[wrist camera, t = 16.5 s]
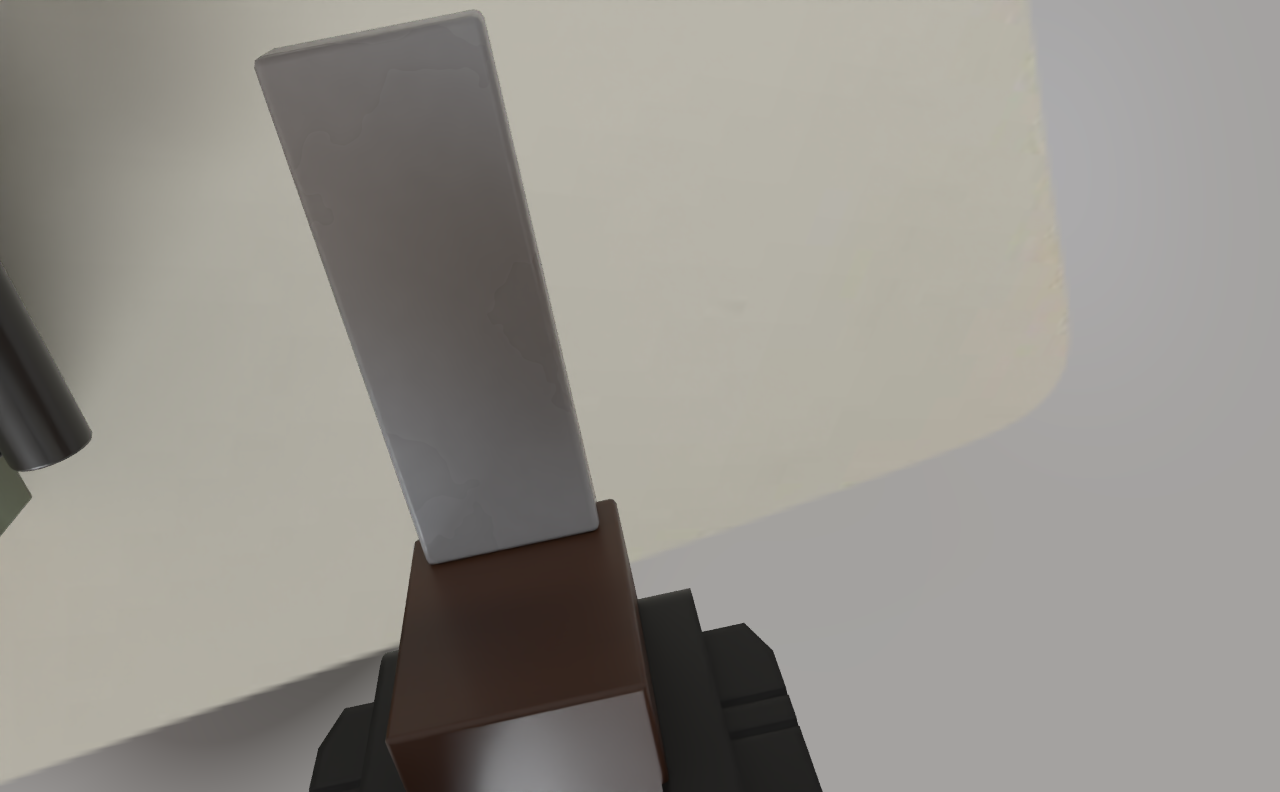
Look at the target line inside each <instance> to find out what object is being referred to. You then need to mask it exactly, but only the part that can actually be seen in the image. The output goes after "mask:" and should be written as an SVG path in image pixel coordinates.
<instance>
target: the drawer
mask: <svg viewBox="0 0 1280 792" xmlns="http://www.w3.org/2000/svg"><path fill="white" fill-rule="evenodd" d="M91 438H92V431H91V429H90V427H89V426H88V424H87V422H86V420H85V418H84V416H83V414H82V412H81V411H80V409H79V407H78V405H77V403H76V401H75V399H74V397H73V396H72V394H71V392H70V390H69V388H68V386H67V384H66V382H65V381H64V379H63V377H62V375H61V373H60V371H59V369H58V367H57V366H56V364H55V362H54V360H53V358H52V356H51V354H50V352H49V351H48V349H47V347H46V345H45V343H44V341H43V339H42V337H41V336H40V334H39V332H38V330H37V328H36V326H35V324H34V322H33V321H32V319H31V317H30V315H29V313H28V311H27V309H26V308H25V306H24V304H23V302H22V300H21V298H20V296H19V294H18V293H17V291H16V289H15V287H14V285H13V283H12V281H11V279H10V278H9V276H8V274H7V272H6V270H5V268H4V266H3V264H2V263H1V261H0V536H1V535H2V534H3V533H4V531H5V530H6V529H7V528H8V526H9V525H10V524H11V523H12V522H13V520H14V519H15V518H16V517H17V515H18V514H19V513H20V512H21V511H22V509H23V508H24V507H25V506H26V504H27V503H28V502H29V501H30V500H31V498H32V495H31V493H30V492H29V490H28V488H27V487H26V485H25V483H24V482H23V480H22V478H21V476H20V475H19V473H18V471H21V472H24V471H32V470H37V469H41V468H45V467H48V466H51V465H53V464H56V463H58V462H61V461H63V460H65V459H67V458H69V457H70V456H72V455H74V454H75V453H77V452H78V451H80V450H81V449H83V448H84V447H85V446H86V445H87V444H88V443H89V442H90V440H91Z"/></svg>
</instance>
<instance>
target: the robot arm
mask: <svg viewBox="0 0 1280 792" xmlns="http://www.w3.org/2000/svg"><path fill="white" fill-rule="evenodd" d="M637 602H638V608H639V614H640V619H641V625H642V630H643V636H644V641H645V647H646V652H647V658H648V663H649V669H650V674H651V680H652V685H653V691H654V696H655V702H656V707H657V712H658V718H659V723H660V729H661V734H662V740H663V745H664V751H665V756H666V762H667V767H668V773H669V779H668V781H667V782H666V783H664V784H662V789H663V792H822V789H821V786H820V783H819V781H818V778H817V775H816V772H815V769H814V766H813V763H812V761H811V758H810V755H809V752H808V749H807V746H806V744H805V741H804V738H803V735H802V732H801V729H800V726H798V723H797V718H796V715H795V712H794V709H793V707H792V704H791V701H790V698H789V695H787V691H786V686H785V684H784V681H783V678H782V675H781V672H780V670H779V667H778V664H777V661H776V658H775V655H774V652H773V650H772V649H770V647H769V646H768V645H766V644H765V643H764V642H763V641H762V640H761V639H760V638H759V637H758V636H757V635H756V634H755V633H754V632H753V631H752V630H751V629H750V628H749V627H748V626H747V625H746V624H745V623H742V624H737V625H732V626H728V627H723V628H719V629H714V630H709V631H704V632H702V630H701V627H700V623H699V619H698V615H697V611H696V608H695V604H694V600H693V596H692V593H691V590H690V588H689V589H684V590H680V591H675V592H670V593H665V594H661V595H656V596H652V597H647V598H642V599H637ZM398 653H399V650H397V651H393V652H388V653H385V654H384V656H383V658H382V660H381V665H380V670H379V676H378V682H377V688H376V694H375V700H374V702H373V703H368V704H363V705H359V706H354V707H350V708H345V709H344V711H343V712H342V713H341V715H340V717H339V718H338V720H337V721H336V723H335V724H334V726H333V727H332V729H331V730H330V732H329V733H328V735H327V736H326V738H325V739H324V741H323V742H322V744H321V746H320V747H319V748H318V753H317V757H316V762H315V766H314V770H313V775H312V779H311V783H310V788H309V792H406V790H405V788H404V785H403V783H402V781H401V778H400V776H399V774H398V771H397V769H396V766H395V764H394V762H393V759H392V757H391V755H390V752H389V750H388V748H387V745H386V743H385V739H386V733H387V726H388V719H389V713H390V706H391V699H392V693H393V686H394V679H395V673H396V666H397V659H398Z"/></svg>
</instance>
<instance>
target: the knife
mask: <svg viewBox="0 0 1280 792" xmlns="http://www.w3.org/2000/svg"><path fill="white" fill-rule="evenodd" d="M254 68H255V71H256V74H257V77H258V80H259V83H260V86H261V88H262V91H263V94H264V97H265V100H266V103H267V106H268V108H269V111H270V114H271V117H272V120H273V123H274V126H275V128H276V131H277V134H278V137H279V140H280V143H281V146H282V148H283V151H284V154H285V157H286V160H287V163H288V166H289V169H290V171H291V174H292V177H293V180H294V183H295V186H296V189H297V191H298V194H299V197H300V200H301V203H302V206H303V209H304V211H305V214H306V217H307V220H308V223H309V226H310V229H311V231H312V234H313V237H314V240H315V243H316V246H317V249H318V251H319V254H320V257H321V260H322V263H323V266H324V269H325V271H326V274H327V277H328V280H329V283H330V286H331V289H332V291H333V294H334V297H335V300H336V303H337V306H338V309H339V312H340V314H341V317H342V320H343V323H344V326H345V329H346V332H347V334H348V337H349V340H350V343H351V346H352V349H353V352H354V354H355V357H356V360H357V363H358V366H359V369H360V372H361V374H362V377H363V380H364V383H365V386H366V389H367V392H368V394H369V397H370V400H371V403H372V406H373V409H374V412H375V414H376V417H377V420H378V423H379V426H380V429H381V432H382V434H383V437H384V440H385V443H386V446H387V449H388V452H389V455H390V457H391V460H392V463H393V466H394V469H395V472H396V475H397V477H398V480H399V483H400V486H401V489H402V492H403V495H404V497H405V500H406V503H407V506H408V509H409V512H410V515H411V517H412V520H413V523H414V526H415V529H416V532H417V535H418V537H419V540H417V541H416V542H415V546H414V552H413V559H412V566H411V572H410V579H409V586H408V592H407V599H406V606H405V613H404V619H403V626H402V633H401V639H400V646H399V653H398V659H397V666H396V673H395V679H394V686H393V693H392V699H391V706H390V713H389V719H388V726H387V733H386V739H385V743H386V745H387V748H388V750H389V752H390V755H391V757H392V759H393V762H394V764H395V766H396V769H397V771H398V774H399V776H400V778H401V781H402V783H403V785H404V788H405V790H406V792H663V789H662V784H664V783H666V782H667V781H668V779H669V773H668V767H667V762H666V756H665V751H664V745H663V740H662V734H661V729H660V723H659V718H658V712H657V707H656V702H655V696H654V691H653V685H652V680H651V674H650V669H649V663H648V658H647V652H646V647H645V641H644V636H643V630H642V625H641V619H640V614H639V608H638V602H637V595H636V590H635V586H634V582H633V577H632V572H631V568H630V563H629V559H628V554H627V549H626V545H625V540H624V536H623V531H622V527H621V522H620V518H619V513H618V509H617V504H616V502H615V501H614V500H613V499H608V500H603V501H599V502H596V496H595V492H594V488H593V483H592V479H591V475H590V471H589V466H588V462H587V458H586V453H585V449H584V445H583V440H582V436H581V432H580V428H579V423H578V419H577V415H576V410H575V406H574V402H573V397H572V393H571V389H570V384H569V380H568V376H567V372H566V367H565V363H564V359H563V354H562V350H561V346H560V341H559V337H558V333H557V329H556V324H555V320H554V316H553V311H552V307H551V303H550V298H549V294H548V290H547V285H546V281H545V277H544V273H543V268H542V264H541V260H540V255H539V251H538V247H537V242H536V238H535V234H534V230H533V225H532V221H531V217H530V212H529V208H528V204H527V199H526V195H525V191H524V186H523V182H522V178H521V174H520V169H519V165H518V161H517V156H516V152H515V148H514V143H513V139H512V135H511V131H510V126H509V122H508V118H507V113H506V109H505V105H504V100H503V96H502V92H501V87H500V83H499V79H498V75H497V70H496V66H495V62H494V57H493V53H492V49H491V44H490V40H489V36H488V31H487V27H486V23H485V19H484V16H483V15H482V13H481V12H480V11H478V10H468V11H463V12H458V13H453V14H448V15H442V16H437V17H432V18H427V19H422V20H417V21H412V22H407V23H402V24H397V25H391V26H386V27H381V28H376V29H371V30H366V31H361V32H356V33H351V34H346V35H340V36H335V37H330V38H325V39H320V40H315V41H310V42H305V43H300V44H295V45H289V46H284V47H279V48H274V49H272V50H270V51H269V52H267V53H265V54H264V55H262V56H260V57H259V58H258V59H256V60H255V67H254Z"/></svg>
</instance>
